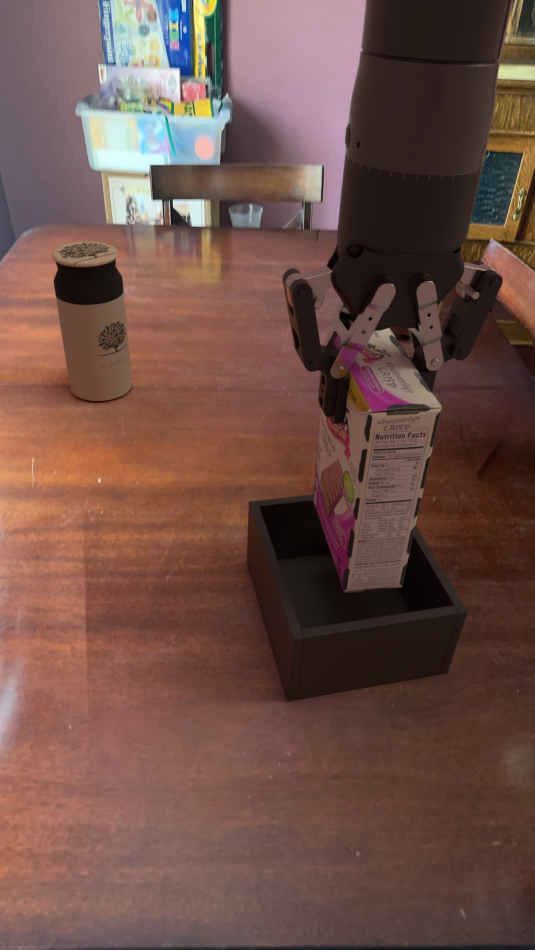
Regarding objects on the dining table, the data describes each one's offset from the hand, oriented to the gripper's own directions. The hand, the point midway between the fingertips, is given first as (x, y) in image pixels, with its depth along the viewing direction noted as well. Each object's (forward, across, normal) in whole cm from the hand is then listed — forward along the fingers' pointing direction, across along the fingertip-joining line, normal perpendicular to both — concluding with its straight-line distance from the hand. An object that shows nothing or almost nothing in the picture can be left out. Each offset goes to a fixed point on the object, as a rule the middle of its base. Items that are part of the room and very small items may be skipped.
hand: (372, 413), depth 47 cm
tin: (+21, +31, +55) cm, 66 cm away
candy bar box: (+13, 0, 0) cm, 13 cm away
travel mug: (+21, -19, +43) cm, 51 cm away
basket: (+21, 0, 0) cm, 21 cm away
